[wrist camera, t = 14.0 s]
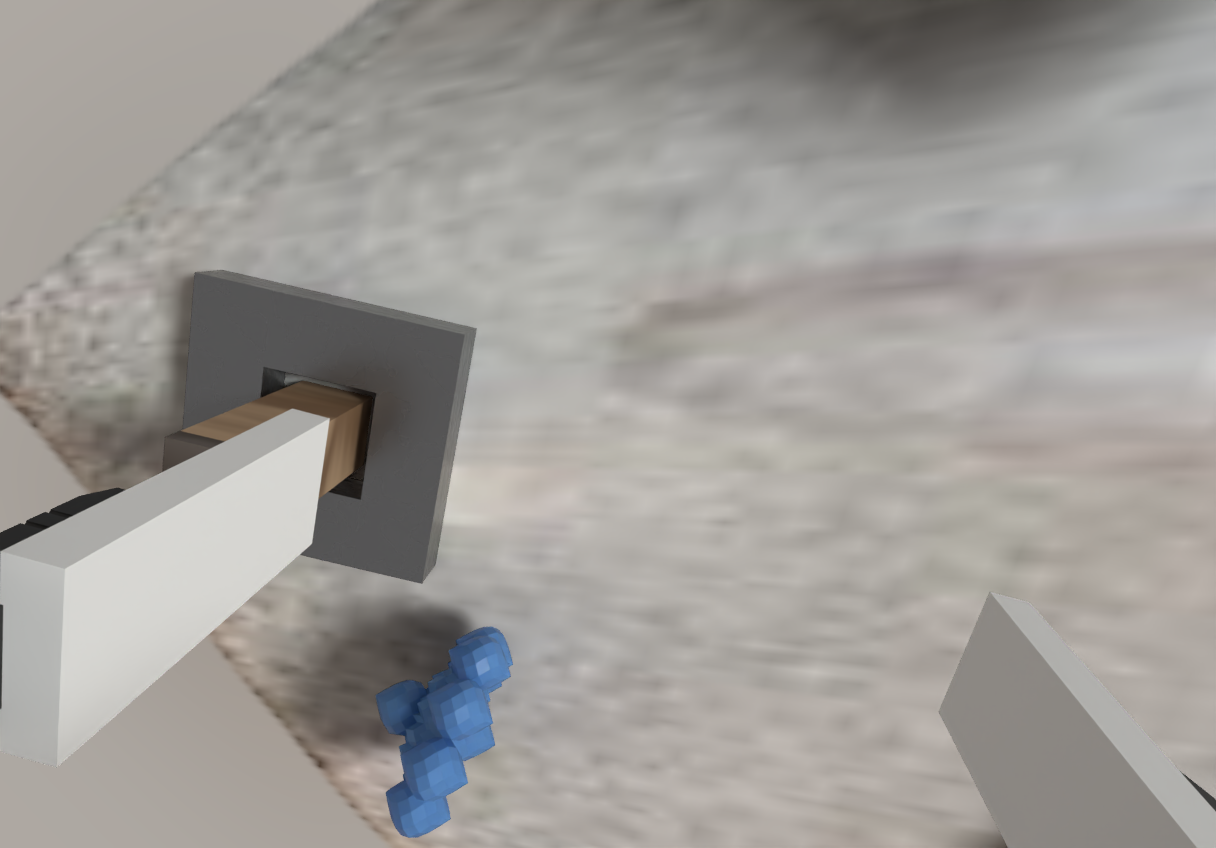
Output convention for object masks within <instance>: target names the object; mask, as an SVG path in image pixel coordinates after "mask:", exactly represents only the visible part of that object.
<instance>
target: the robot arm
mask: <svg viewBox="0 0 1216 848" xmlns="http://www.w3.org/2000/svg"><path fill="white" fill-rule="evenodd" d="M329 420H330V418H326V417H323V416H319V415H315V414H311V413H307V412H303V411H300V410H296V409H290V410H288V411H286V412H284V413H282V414H280V415H278V416H276V417H274V418H272V419H270V420H268V421H266V422H264V423H262V424H260V425H258V426H256V427H254V428H252V429H250V430H247V431H245V432H243V433H241V434H239V435H237V436H235V437H233V438H231V439H229V440H227V441H225V442H223V443H221V444H219V445H217V446H215V447H213V448H211V449H209V450H207V451H205V452H202V453H200V454H198V455H196V456H194V457H192V458H190V459H188V460H186V461H184V462H182V463H180V464H178V465H176V466H174V467H172V468H170V469H168V470H166V471H164V472H162V473H160V474H158V475H155V476H153V477H151V478H149V479H147V480H145V481H143V482H141V483H139V484H137V485H135V486H133V487H131V488H129V489H127V490H124V489H120V488H114V489H109V490H105V491H100V492H96V493H91V494H86V495H82V496H79V497H77V498H74V499H72V500H70V501H68V502H66V503H63V504H61V505H59V506H57V507H55V508H53V509H51V511H50V512H49V513H47V512H44V513H42V514H40V515H38V516H35V517H33V518H31V519H29V520H27V521H26V523H25V525H24V524H21V523H20V524H18V525H16V526H14V527H12V528H9V529H7V530H5V531H3V532H1V533H0V752H3V753H6V754H10V755H14V756H17V757H21V758H24V759H28V760H31V761H35V762H38V763H42V764H46V765H50V766H53V767H58V766H59V765H60V764H61V763H62V762H64V761H65V760H66V759H67V758H68V757H69V756H70V755H72V754H73V753H74V752H75V751H76V750H77V749H78V748H80V747H81V746H82V745H83V744H84V743H85V742H86V741H88V740H89V739H90V738H91V737H92V736H93V735H94V734H96V733H97V732H98V731H99V730H100V729H101V728H102V727H103V726H105V725H106V724H107V723H108V722H109V721H110V720H112V719H113V718H114V717H115V716H116V715H117V714H118V713H119V712H121V710H123V709H124V708H125V707H126V706H127V705H129V704H130V703H131V702H132V701H133V700H134V699H135V698H137V697H138V696H139V695H140V694H141V693H142V692H143V691H145V690H146V689H147V688H148V687H149V686H150V685H151V684H153V683H154V682H155V681H156V680H157V679H158V678H159V677H161V676H162V675H163V674H164V673H165V672H166V671H167V670H169V669H170V668H171V667H172V666H173V665H174V664H175V663H176V662H178V661H179V660H180V659H181V658H182V657H183V656H185V655H186V654H187V653H188V652H189V651H190V650H191V649H192V648H194V647H195V646H196V645H197V644H198V643H199V642H200V641H201V640H203V639H204V638H205V637H206V636H207V635H208V634H210V633H211V632H212V631H213V630H214V629H215V628H216V627H218V626H219V625H220V624H221V623H222V622H223V621H224V620H226V619H227V618H228V617H229V616H230V615H231V614H232V613H234V612H235V611H236V610H237V609H238V608H239V607H240V606H242V605H243V604H244V603H245V602H246V601H247V600H248V599H250V598H251V597H252V596H253V595H254V594H255V593H256V592H258V591H259V590H260V589H261V588H262V587H263V586H264V585H265V584H267V583H268V582H269V581H270V580H271V579H272V578H273V577H275V576H276V575H277V574H278V573H279V572H280V571H281V570H283V569H284V568H285V567H286V566H287V565H288V564H289V563H291V562H292V561H293V560H294V559H295V558H296V557H297V556H299V555H300V554H301V553H302V552H303V551H304V550H305V549H307V548H308V547H309V546H310V545H311V544H312V540H313V533H314V525H315V518H316V511H317V504H318V497H319V490H320V483H321V476H322V469H323V462H324V455H325V448H326V441H327V434H328V427H329ZM939 714H940V716H941V717H942V719H943V721H944V723H945V725H946V727H947V729H948V731H949V733H950V735H951V737H952V739H953V741H954V743H955V745H956V747H957V749H958V751H959V753H960V755H961V757H962V759H963V761H964V763H965V765H966V766H967V768H968V770H969V772H970V774H971V776H972V778H973V780H974V782H975V784H976V786H977V788H978V790H979V792H980V794H981V796H982V798H983V800H984V802H985V804H986V806H987V808H988V810H989V812H990V814H991V816H992V817H993V819H994V821H995V823H996V825H997V827H998V829H999V831H1000V833H1001V835H1002V837H1003V839H1004V841H1005V843H1006V845H1007V847H1008V848H1216V800H1215V799H1214V798H1213V797H1212V796H1211V795H1210V794H1208V793H1207V792H1206V791H1205V790H1203V789H1202V788H1201V787H1199V786H1198V785H1197V784H1196V783H1194V782H1193V781H1192V780H1191V779H1189V778H1188V777H1187V776H1186V775H1184V774H1183V773H1182V772H1180V771H1179V770H1178V769H1177V767H1176V766H1175V765H1174V764H1173V763H1172V762H1171V761H1170V760H1169V758H1168V757H1167V756H1166V755H1165V754H1164V753H1163V752H1162V751H1161V749H1160V748H1159V747H1158V746H1157V745H1156V744H1155V743H1154V742H1153V740H1152V739H1151V738H1150V737H1149V736H1148V735H1147V734H1146V733H1145V731H1144V730H1143V729H1142V728H1141V727H1140V726H1139V725H1138V724H1137V722H1136V721H1135V720H1134V719H1133V718H1132V717H1131V716H1130V715H1129V713H1128V712H1127V711H1126V710H1125V709H1124V708H1123V707H1122V706H1121V704H1120V703H1119V702H1118V701H1117V700H1116V699H1115V698H1114V697H1113V696H1112V694H1111V693H1110V692H1109V691H1108V690H1107V689H1106V688H1105V687H1104V685H1103V684H1102V683H1101V682H1100V681H1099V680H1098V679H1097V678H1096V676H1095V675H1094V674H1093V673H1092V672H1091V671H1090V670H1089V669H1088V667H1087V666H1086V665H1085V664H1084V663H1083V662H1082V661H1081V660H1080V658H1079V657H1078V656H1077V655H1076V654H1075V653H1074V652H1073V651H1072V649H1071V648H1070V647H1069V646H1068V645H1067V644H1066V643H1065V642H1064V640H1063V639H1062V638H1061V637H1060V636H1059V635H1058V634H1057V633H1056V631H1055V630H1054V629H1053V628H1052V627H1051V626H1050V625H1049V624H1048V622H1047V621H1046V620H1045V619H1044V618H1043V617H1042V616H1041V615H1040V613H1039V612H1038V611H1037V610H1036V609H1035V608H1034V607H1033V606H1032V604H1031V603H1030V602H1027V601H1023V600H1019V599H1016V598H1012V597H1008V596H1004V595H1000V594H997V593H993V592H989V595H988V597H987V599H986V602H985V604H984V606H983V609H982V611H981V613H980V616H979V618H978V621H977V623H976V625H975V628H974V630H973V632H972V635H971V637H970V639H969V642H968V644H967V646H966V649H965V651H964V653H963V656H962V658H961V660H960V663H959V665H958V667H957V670H956V672H955V674H954V677H953V679H952V681H951V684H950V686H949V688H948V691H947V693H946V695H945V698H944V700H943V703H942V705H941V707H940V710H939Z"/></svg>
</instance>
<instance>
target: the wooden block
mask: <svg viewBox="0 0 1216 848" xmlns="http://www.w3.org/2000/svg"><path fill="white" fill-rule="evenodd" d="M372 401H373V397H372V396H367V395H363V394H359V393H354V392H350V391H346V390H341V389H337V388H333V387H329V386H324V385H320V384H316V383H311V382H307V381H300V382H298V383H296V384H293V385H291V386H288V387H286V388H283V389H281V390H279V391H276V392H274V393H271V394H269V395H266V396H264V397H262V398H259V399H257V400H254V401H252V402H249V403H247V404H244V405H242V406H240V407H237V408H235V409H232V410H230V411H227V412H225V413H223V414H220V415H218V416H215V417H213V418H210V419H208V420H206V421H203V422H201V423H198V424H196V425H193V426H191V427H188V428H186V429H184V430H181V431H179V432H176V433H174V434H171V435H169V436H167V437H165V443H164V457H163V471H162V472H164V471H166V470H168V469H170V468H172V467H174V466H176V465H178V464H180V463H182V462H184V461H186V460H188V459H190V458H192V457H194V456H196V455H198V454H200V453H202V452H205V451H207V450H209V449H211V448H213V447H215V446H217V445H219V444H221V443H223V442H225V441H227V440H229V439H231V438H233V437H235V436H237V435H239V434H241V433H243V432H245V431H247V430H250V429H252V428H254V427H256V426H258V425H260V424H262V423H264V422H266V421H268V420H270V419H272V418H274V417H276V416H278V415H280V414H282V413H284V412H286V411H288V410H290V409H296V410H300V411H303V412H307V413H311V414H315V415H319V416H323V417H326V418H330V420H329V427H328V434H327V441H326V448H325V455H324V462H323V469H322V476H321V483H320V490H319V497H318V499H319V498H321V497H322V496H323V495H324V494H326V493H327V492H328V491H330V490H331V489H332V488H334V487H335V486H336V485H337V484H339V483H340V482H341V481H343V480H344V479H345V478H347V477H348V476H349V475H350V474H352V473H353V472H354V471H356V470H357V469H358V468H360V467H361V466H362V465H363V464H364V457H365V450H366V443H367V436H368V429H369V422H370V415H371V408H372Z"/></svg>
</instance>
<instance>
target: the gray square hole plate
mask: <svg viewBox="0 0 1216 848" xmlns="http://www.w3.org/2000/svg"><path fill="white" fill-rule="evenodd" d="M475 335H476V328H472V327H468V326H463V325H459V324H455V323H450V322H446V321H442V320H437V319H433V318H429V317H424V316H420V315H416V314H411V313H407V312H403V311H398V310H394V309H390V308H385V307H381V306H377V305H372V304H368V303H364V302H359V301H355V300H351V299H346V298H342V297H338V296H333V295H329V294H324V293H320V292H316V291H311V290H307V289H303V288H298V287H294V286H290V285H285V284H281V283H277V282H272V281H268V280H264V279H259V278H255V277H251V276H246V275H242V274H238V273H233V272H229V271H225V270H217V271H206V272H195V276H194V289H193V302H192V315H191V328H190V340H189V353H188V366H187V379H186V392H185V405H184V418H183V430H184V429H186V428H188V427H191V426H193V425H196V424H198V423H201V422H203V421H206V420H208V419H210V418H213V417H215V416H218V415H220V414H223V413H225V412H227V411H230V410H232V409H235V408H237V407H240V406H242V405H244V404H247V403H249V402H252V401H254V400H257V399H259V398H262V397H264V396H266V395H269V394H271V393H274V392H276V391H279V390H281V389H283V388H284V380H285V372H288V373H293V374H297V375H301V376H306V377H310V378H314V379H319V380H323V381H327V382H332V383H336V384H340V385H344V386H349V387H353V388H357V389H362V390H366V391H370V392H375V393H376V398H375V405H374V412H373V419H372V426H371V433H370V440H369V447H368V454H367V460H366V467H365V474H364V481H359V480H355V479H351V478H345V479H344V480H343V481H341V482H340V483H339V484H337V485H336V486H335V487H334V488H332V489H331V490H330V491H328V492H327V493H326V494H324V495H323V496H322V497H321V498H319V499H318V504H317V511H316V518H315V525H314V533H313V540H312V544H311V545H310V546H309V547H308V548H307V549H305V550H304V551H303V552H302V553H301V554H300V555H303V556H307V557H311V558H316V559H320V560H324V561H328V562H332V563H337V564H341V565H345V566H349V567H354V568H358V569H362V570H366V571H371V572H375V573H379V574H383V575H387V576H392V577H396V578H400V579H404V580H409V581H413V582H417V583H421V584H422V583H423V581H424V580H425V579H426V577H427V576H428V574H429V573H430V571H431V570H432V568H433V567H434V566H435V563H436V558H437V552H438V546H439V541H440V535H441V529H442V523H443V518H444V512H445V506H446V500H447V495H448V489H449V483H450V478H451V472H452V466H453V460H454V455H455V449H456V443H457V438H458V432H459V426H460V420H461V415H462V409H463V403H464V398H465V392H466V386H467V380H468V375H469V369H470V363H471V358H472V352H473V346H474V340H475Z"/></svg>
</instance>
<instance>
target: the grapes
mask: <svg viewBox="0 0 1216 848" xmlns="http://www.w3.org/2000/svg"><path fill="white" fill-rule="evenodd" d="M456 643H457V646H456V647H454V648H452V649H450V650H449V654H450V658H451V661H450V662H449V663H448V666H449V669H447V670H444V671H442V672H440V673H437V674H435V675H433V676H432V678H433V679H432V680H431V681H429V682H428V688H427V689H425V688H424V686H423V685H422V683H421V682H417V681H413V680H406V681H403V682H400V683H397V684H395V685H393V686H391V687H389V688H387V689H385V690H383V691H382V692H380V693H378V694H376V700H377V706H378V710H379V714H380V718H381V720H382V722H383V724H384V726H385V727H386V729H387V730H388V732H389V733H390V734H396V735H403V736H405V740H406V743H405V744H403V745H401V746H399V749H400V753H401V755H400V756H401V761H402V766H403V770H404V774H403V778H404V781H402V782H400V783H398V784H397V785H395V786H394V787H392V788H390V790H388V791H387V792H386V796H387V802H388V807H389V811H390V815H391V819H392V821H393V823H394V825H395V828H396V829H397V830H398V832H399V833H400V834H401V835H402V836H405V837H409V838H411V837H419V836H422V835H424V834H426V833H429V832H430V831H432V830H434V829H436V828H438V827H439V826H441V825H442V824H444V823H445V822H447V821H448V820H450V819H451V818H450V811H449V807H448V803H447V799H446V796H447V795H449V794H451V793H453V792H454V791H456V790H458V789H459V788H461V787H462V786H464V785H465V784H467V783H468V781H467V777H466V772H465V768H464V764H463V761H466V760H468V759H471V758H473V757H475V756H477V755H479V754H481V753H483V752H485V751H487V750H488V749H490V748H491V747H493V746H495V742H494V738H493V733H492V730H491V726H490V725H491V724H493V721H492V717H491V713H490V709H489V705H488V702H489V701H490V697H489V693H490V692H492V691H494V690H496V689H497V688H499V687H501V686H502V684H501V682H503V681H504V680H506V679H508V678H509V677H511V676H510V672H509V668H508V667H510V666H511V665H513V662H512V658H511V654H510V651H509V647H508V644H507V642H506V640H505V638H504V635H503V634H502V633H501V632H500V631H499V630H498V629H496V628H494V627H482V628H479V629H476V630H474V631H472V632H470V633H468V634H466V635H464V636H463V637H461V638H459V639H457V640H456Z"/></svg>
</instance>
